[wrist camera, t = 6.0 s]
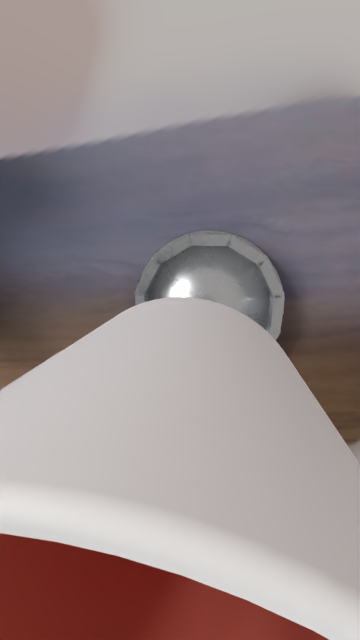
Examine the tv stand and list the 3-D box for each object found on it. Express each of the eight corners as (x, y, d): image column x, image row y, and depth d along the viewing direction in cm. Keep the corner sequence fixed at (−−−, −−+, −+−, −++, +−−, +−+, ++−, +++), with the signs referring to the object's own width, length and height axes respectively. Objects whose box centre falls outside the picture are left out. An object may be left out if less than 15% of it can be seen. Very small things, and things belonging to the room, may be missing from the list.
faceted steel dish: (114, 326, 30) (106, 333, 28) (182, 200, 26) (179, 195, 23) (227, 394, 31) (228, 406, 29) (314, 283, 26) (324, 286, 24)
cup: (65, 315, 13) (-424, 525, 3) (273, 268, 11) (793, 430, 1) (123, 478, 15) (-49, 896, 5) (303, 463, 13) (557, 1082, 3)
